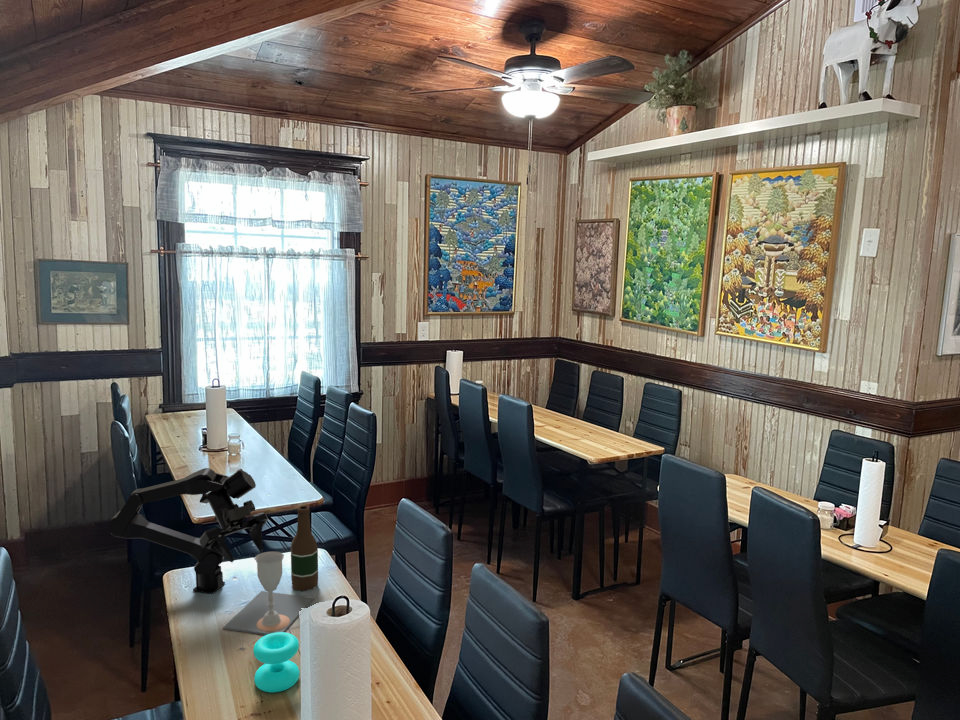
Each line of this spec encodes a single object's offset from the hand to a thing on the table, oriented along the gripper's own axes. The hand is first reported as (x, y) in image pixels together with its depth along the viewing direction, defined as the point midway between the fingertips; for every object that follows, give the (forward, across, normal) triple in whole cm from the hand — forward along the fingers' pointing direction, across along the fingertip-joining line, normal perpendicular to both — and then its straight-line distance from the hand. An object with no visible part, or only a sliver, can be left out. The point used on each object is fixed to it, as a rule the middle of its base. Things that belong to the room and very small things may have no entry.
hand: (247, 556), depth 195 cm
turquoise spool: (+35, -17, -16) cm, 42 cm away
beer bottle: (+12, +16, +7) cm, 22 cm away
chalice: (+19, -3, -1) cm, 20 cm away
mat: (+16, 0, +3) cm, 17 cm away
